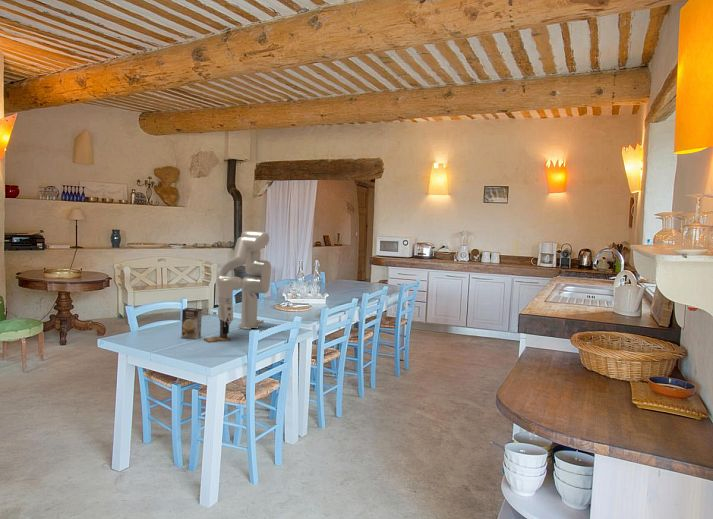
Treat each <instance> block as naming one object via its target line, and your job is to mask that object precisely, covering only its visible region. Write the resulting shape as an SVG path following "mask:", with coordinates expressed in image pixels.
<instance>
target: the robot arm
mask: <svg viewBox="0 0 713 519" xmlns="http://www.w3.org/2000/svg"><path fill="white" fill-rule="evenodd" d="M269 242H270V236H269V233H268V232H266V231H257V230H245V231H243V232H241V234H240V237H238V238H237V240H236V244H235V247H234V249H233V253H232V255H231V259H230V260H228V261H227V262H226V263H224V265H223V266H222V267H221V269H220V270H219V272H218V273H219V274H218V277H217V282H216V283H217V284H216V285H217V287H218V302H217V303H218V306H217V307H218V308H217V318H218V320H219V321H220V320H223V321H224V327H223V334H227V335H228V334H229V333H230V332H229V331H230V325H231V323H232V322H233V320H234V308H233V307H234V306H233V296H234V295H233V294H234V292H233V291H239V290H241V318H240V320H241V321H240V324H238V329H241V328H242V330H252V329H251V328H257V327H259V328H260V325H261V324H265V323H264V320H260V319H258V303H259V302H258V300H259V299H258V296H257V295H256V294H267V293H268V292H269V290H270V285H271V276H272V264H271V263H270V261H268V260H264V259H261V254H262V253H261V250H263V248H265V247H267V245H268V244H269ZM244 265H245V269H244V270H245V273H246V274H248V275H254V276H245V277H243V278H241V277H239V276H233V275H228V274H229V273H230V272H231V271H232V270H234V269H237V268H239V267H242V266H244ZM256 276H258V277H256ZM259 276H261V277H259ZM227 320H228V321H227ZM226 322H227V323H226ZM257 329H258V328H257Z"/></svg>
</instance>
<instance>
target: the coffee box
mask: <svg viewBox="0 0 713 519" xmlns="http://www.w3.org/2000/svg"><path fill="white" fill-rule="evenodd" d="M202 314H203V309H202V308H195V307H194V308H193V307H186V308H182V312H181V316H182V317H181V336H180V337H181V339H182V338H183V339H189V338H190V339H192V340H197V339H199V338H201V337H202V336H201V335H202V319H203V316H202Z"/></svg>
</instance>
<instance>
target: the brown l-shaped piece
mask: <svg viewBox="0 0 713 519" xmlns="http://www.w3.org/2000/svg"><path fill="white" fill-rule="evenodd" d="M227 321H228V320H227ZM226 323H227V322H226ZM219 325H220V326H219V336H211V337H210V336H209V337H204V338H203V341H205V342H206V343H209V344H210V343H211V342H212V343H219V342H218V341H220V342H227V341H226V340H228V341H230V338H229V337H228V334H223V327H224V321H223V320H219Z"/></svg>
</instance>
